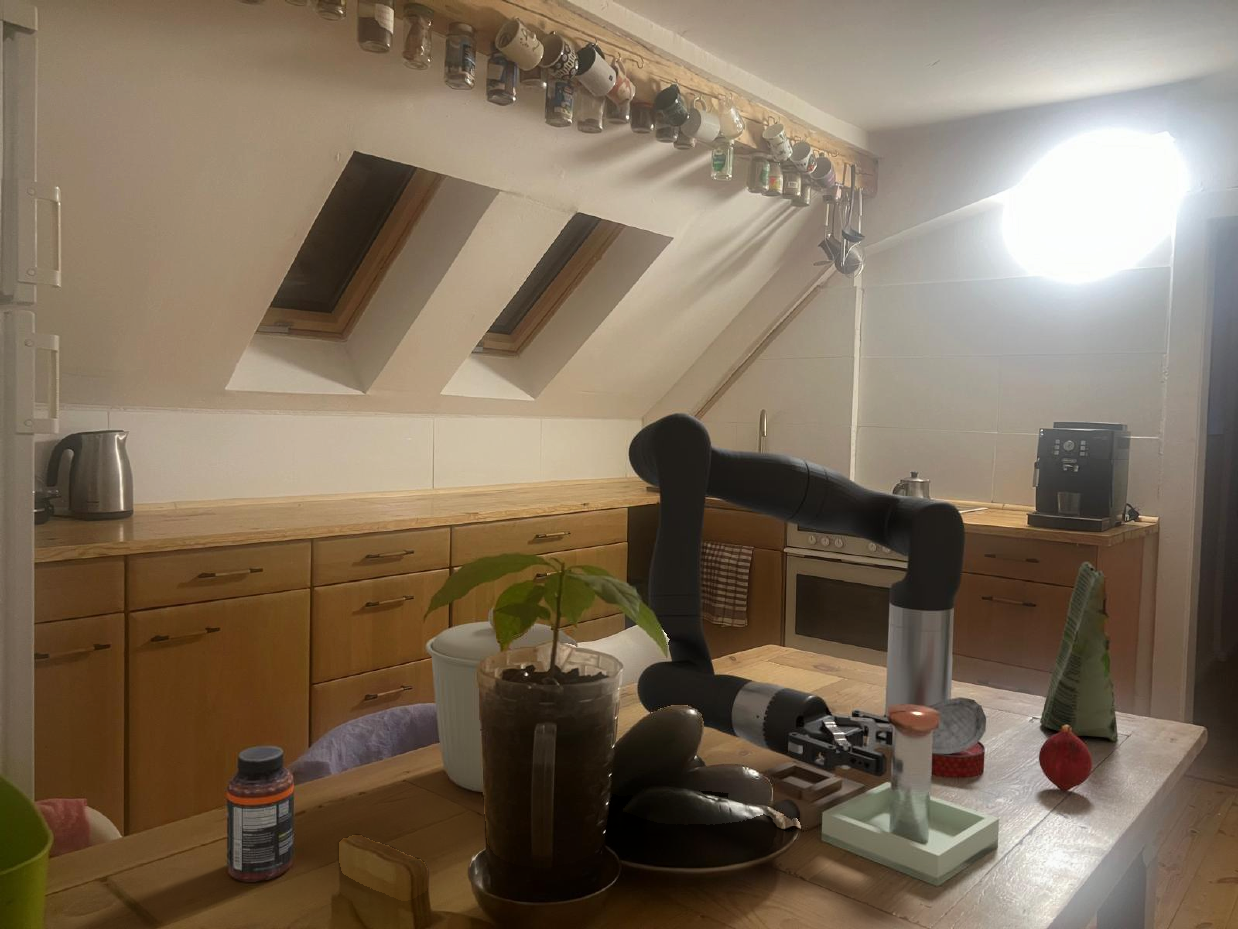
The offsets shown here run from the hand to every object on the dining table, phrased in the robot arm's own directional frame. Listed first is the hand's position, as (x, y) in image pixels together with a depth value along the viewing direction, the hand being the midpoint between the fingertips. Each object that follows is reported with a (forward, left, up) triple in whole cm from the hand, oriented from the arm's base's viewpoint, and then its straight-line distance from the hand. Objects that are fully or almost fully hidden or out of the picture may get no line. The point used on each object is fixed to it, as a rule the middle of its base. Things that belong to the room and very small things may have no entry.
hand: (906, 757), depth 98 cm
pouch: (-53, -1, -9) cm, 54 cm away
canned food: (-25, -8, -9) cm, 28 cm away
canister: (+22, -41, -9) cm, 48 cm away
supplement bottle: (+53, -37, -9) cm, 66 cm away
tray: (0, +1, -9) cm, 9 cm away
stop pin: (0, +1, -8) cm, 8 cm away
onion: (-28, +6, -9) cm, 30 cm away
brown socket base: (0, -13, -9) cm, 16 cm away
